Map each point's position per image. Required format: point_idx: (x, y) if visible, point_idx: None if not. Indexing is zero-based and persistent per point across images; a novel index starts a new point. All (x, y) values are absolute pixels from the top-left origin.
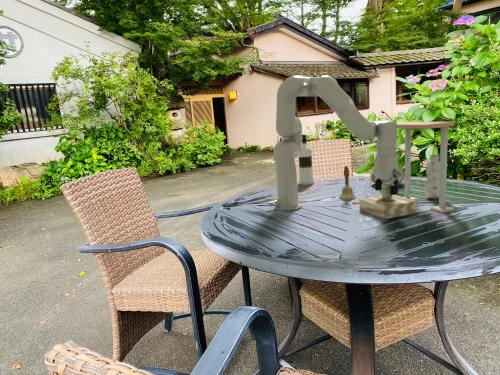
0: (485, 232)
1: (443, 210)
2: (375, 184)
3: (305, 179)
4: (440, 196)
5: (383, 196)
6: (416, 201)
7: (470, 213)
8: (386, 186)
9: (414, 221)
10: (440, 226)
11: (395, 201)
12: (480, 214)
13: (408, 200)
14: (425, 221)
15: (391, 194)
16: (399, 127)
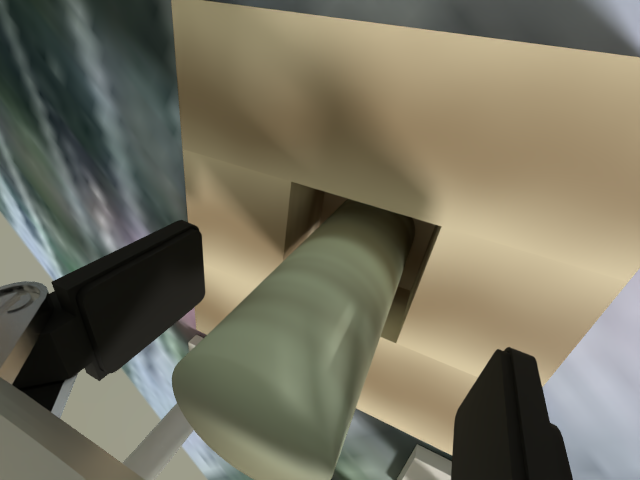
0: (3, 198)
1: (190, 345)
2: (539, 459)
3: None
4: (172, 418)
5: (332, 242)
6: (197, 325)
7: (154, 361)
8: (214, 333)
9: (146, 144)
10: (65, 159)
11: (262, 257)
12: (137, 360)
13: None
14: (131, 181)
15: (178, 225)
16: None
